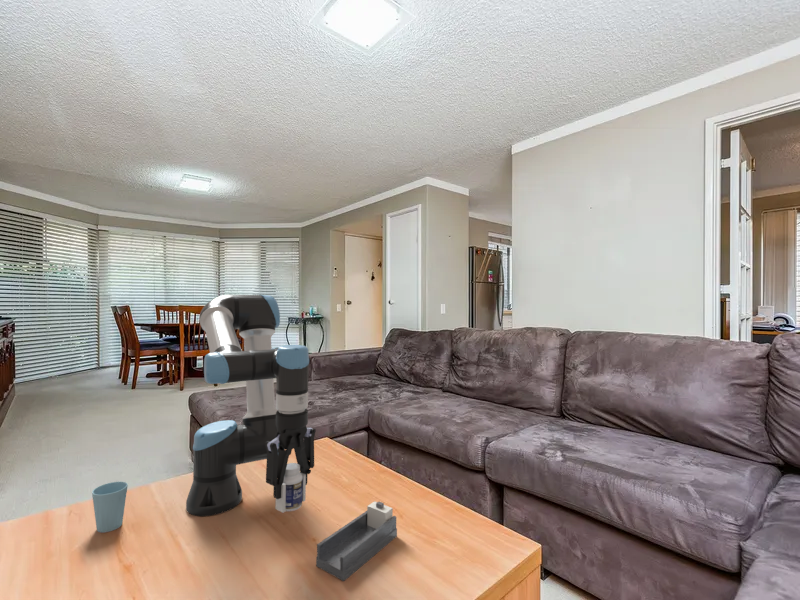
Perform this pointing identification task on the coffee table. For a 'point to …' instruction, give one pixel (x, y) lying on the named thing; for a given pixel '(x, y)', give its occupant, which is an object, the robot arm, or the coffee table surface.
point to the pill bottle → (293, 486)
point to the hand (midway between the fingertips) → (290, 504)
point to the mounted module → (378, 514)
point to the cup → (109, 505)
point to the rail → (353, 546)
